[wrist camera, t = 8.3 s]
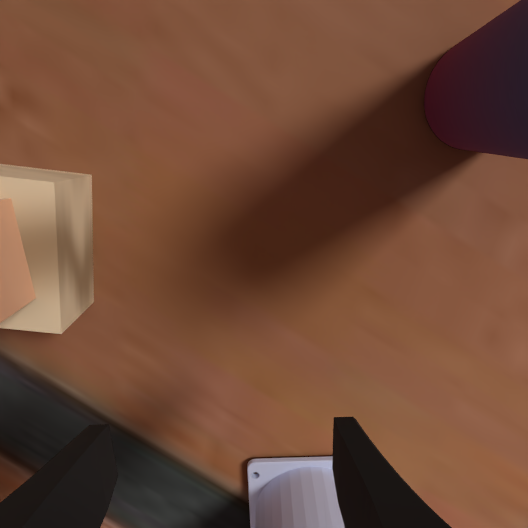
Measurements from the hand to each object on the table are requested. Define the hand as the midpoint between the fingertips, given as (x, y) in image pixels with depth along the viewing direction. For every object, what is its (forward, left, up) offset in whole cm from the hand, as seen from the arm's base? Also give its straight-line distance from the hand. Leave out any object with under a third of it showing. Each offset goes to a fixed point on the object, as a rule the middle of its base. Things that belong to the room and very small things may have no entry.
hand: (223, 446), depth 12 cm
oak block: (+5, +11, -10) cm, 16 cm away
